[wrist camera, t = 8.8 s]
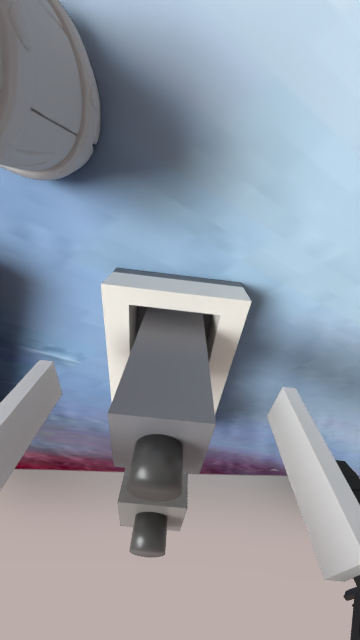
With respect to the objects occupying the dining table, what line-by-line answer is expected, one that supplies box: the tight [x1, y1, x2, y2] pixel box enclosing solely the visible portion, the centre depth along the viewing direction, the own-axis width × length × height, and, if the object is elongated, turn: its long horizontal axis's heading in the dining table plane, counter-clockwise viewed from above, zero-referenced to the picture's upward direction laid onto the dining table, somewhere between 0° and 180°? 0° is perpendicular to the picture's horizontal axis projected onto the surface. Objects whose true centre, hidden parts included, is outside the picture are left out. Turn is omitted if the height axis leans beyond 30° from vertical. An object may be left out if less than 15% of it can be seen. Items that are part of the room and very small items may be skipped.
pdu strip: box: [101, 268, 252, 414], centre depth 19 cm, size 10×18×4 cm, turn 174°
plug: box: [108, 307, 216, 502], centre depth 13 cm, size 4×4×12 cm
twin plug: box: [118, 468, 188, 557], centre depth 18 cm, size 4×4×12 cm
